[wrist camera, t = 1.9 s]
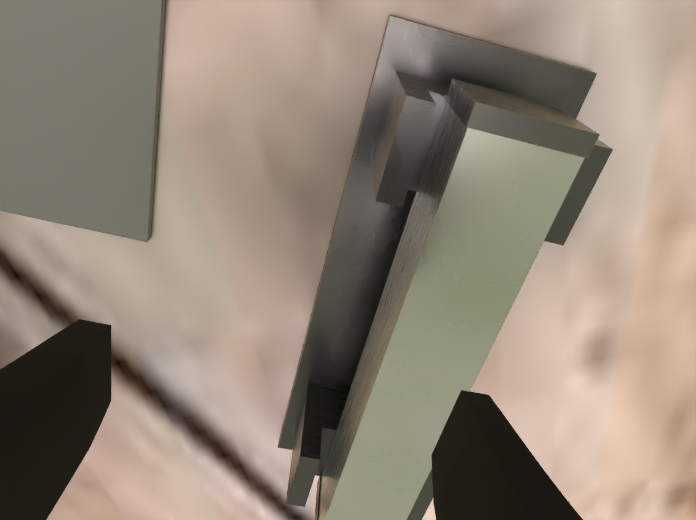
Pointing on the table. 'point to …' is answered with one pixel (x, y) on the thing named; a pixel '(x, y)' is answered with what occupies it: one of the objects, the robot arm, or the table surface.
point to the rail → (448, 290)
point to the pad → (81, 111)
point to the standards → (402, 212)
